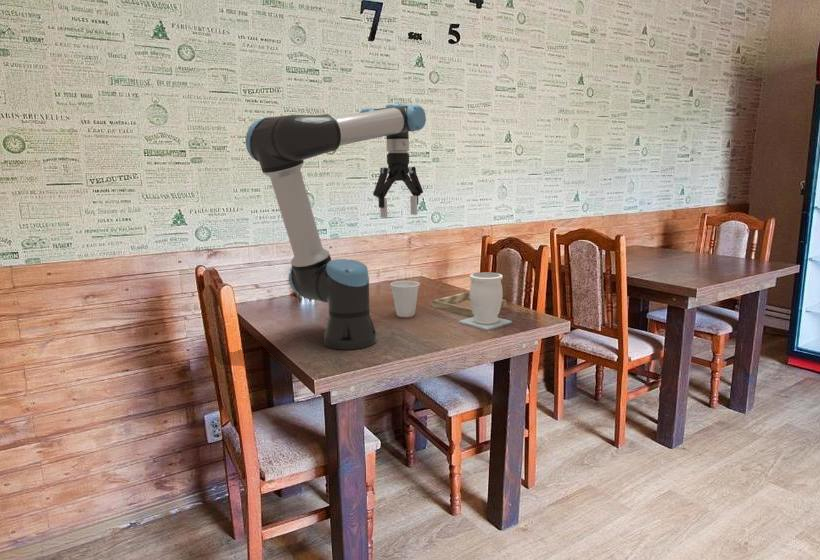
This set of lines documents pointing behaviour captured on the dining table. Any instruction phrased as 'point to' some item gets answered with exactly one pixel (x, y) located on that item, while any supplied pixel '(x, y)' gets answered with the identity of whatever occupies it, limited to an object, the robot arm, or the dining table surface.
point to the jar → (486, 296)
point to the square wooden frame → (448, 306)
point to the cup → (405, 297)
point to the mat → (485, 326)
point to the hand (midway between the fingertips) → (399, 216)
